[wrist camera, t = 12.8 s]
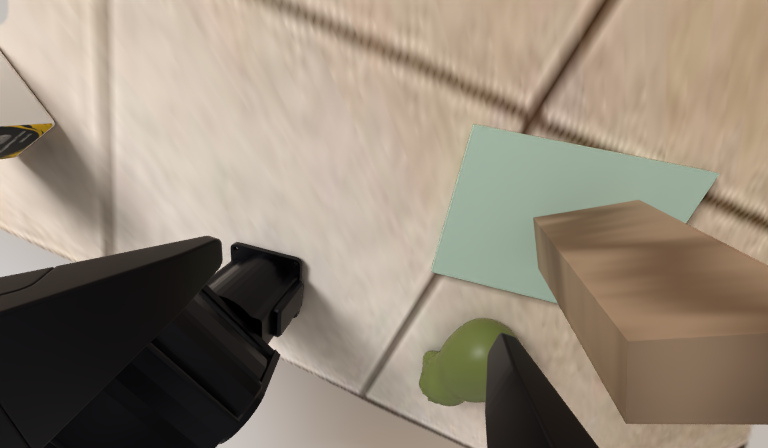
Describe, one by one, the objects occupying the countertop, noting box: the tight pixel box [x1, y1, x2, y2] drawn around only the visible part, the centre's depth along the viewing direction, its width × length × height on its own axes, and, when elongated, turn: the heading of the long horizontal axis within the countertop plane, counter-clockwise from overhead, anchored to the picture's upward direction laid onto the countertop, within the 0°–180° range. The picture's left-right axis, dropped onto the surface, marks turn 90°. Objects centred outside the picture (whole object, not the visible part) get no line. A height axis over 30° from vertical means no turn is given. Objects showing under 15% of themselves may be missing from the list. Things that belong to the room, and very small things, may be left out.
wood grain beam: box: [533, 200, 768, 424], centre depth 14 cm, size 6×4×11 cm, turn 106°
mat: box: [432, 124, 719, 303], centre depth 20 cm, size 14×11×1 cm
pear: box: [419, 318, 519, 406], centre depth 24 cm, size 6×5×10 cm
